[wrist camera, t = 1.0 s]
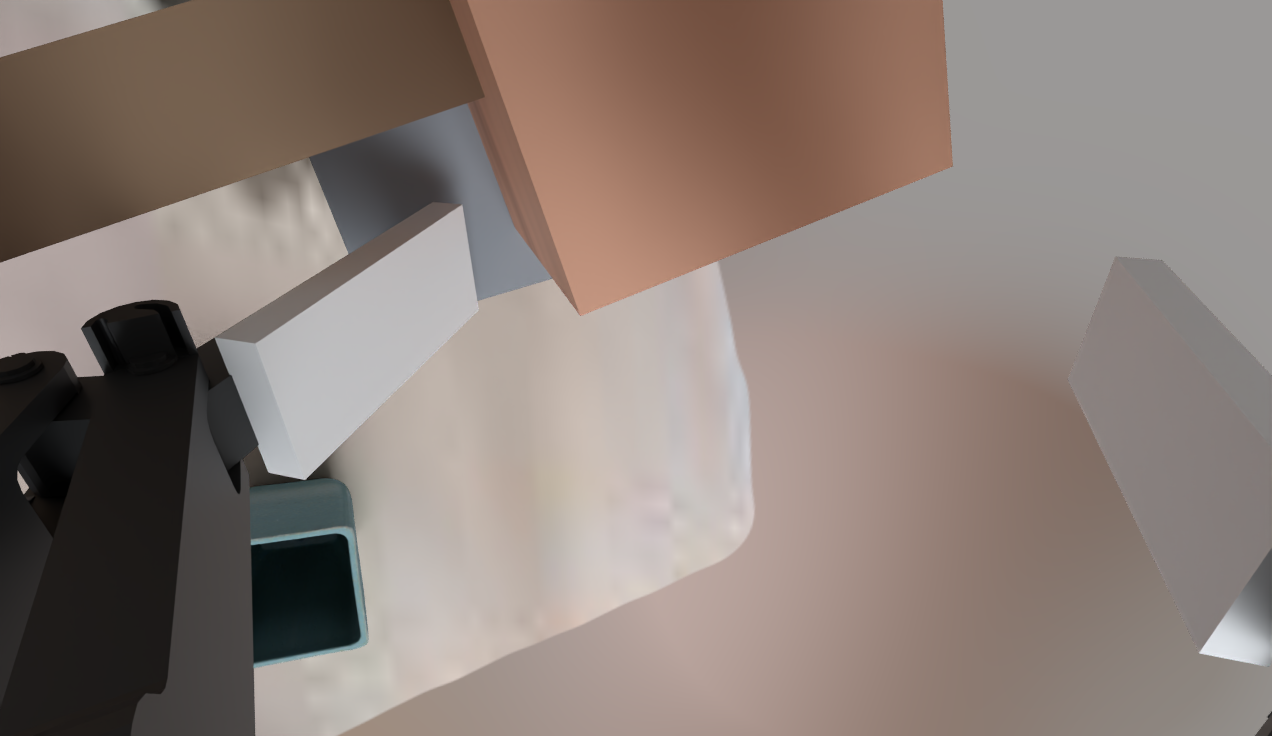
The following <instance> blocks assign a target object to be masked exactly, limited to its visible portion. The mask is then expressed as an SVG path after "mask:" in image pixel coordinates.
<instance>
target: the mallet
mask: <svg viewBox="0 0 1272 736" xmlns="http://www.w3.org/2000/svg"><path fill="white" fill-rule="evenodd" d="M946 66H947V65H946V49H945V34H944V17H943V1H942V0H192V1H189V2H185V3H182V4H179V5H175V6H172V7H168V8H165V9H162V10H158V11H155V12H152V13H148V14H145V15H142V16H138V17H135V18H132V19H128V20H125V21H121V22H118V23H115V24H111V25H108V26H105V27H101V28H98V29H95V30H91V31H88V32H84V33H81V34H78V35H74V36H71V37H68V38H64V39H61V40H58V41H54V42H51V43H48V44H44V45H41V46H37V47H34V48H31V49H27V50H24V51H21V52H17V53H14V54H11V55H7V56H4V57H1V58H0V262H3V261H6V260H9V259H12V258H15V257H18V256H21V255H24V254H27V253H29V252H32V251H35V250H38V249H41V248H44V247H47V246H50V245H53V244H56V243H59V242H62V241H65V240H68V239H70V238H73V237H76V236H79V235H82V234H85V233H88V232H91V231H94V230H97V229H100V228H103V227H106V226H109V225H112V224H114V223H117V222H120V221H123V220H126V219H129V218H132V217H135V216H138V215H141V214H144V213H147V212H150V211H153V210H156V209H158V208H161V207H164V206H167V205H170V204H173V203H176V202H179V201H182V200H185V199H188V198H191V197H194V196H197V195H199V194H202V193H205V192H208V191H211V190H214V189H217V188H220V187H223V186H226V185H229V184H232V183H235V182H238V181H241V180H243V179H246V178H249V177H252V176H255V175H258V174H261V173H264V172H267V171H270V170H273V169H276V168H279V167H282V166H285V165H287V164H290V163H293V162H296V161H299V160H302V159H305V158H308V157H311V156H314V155H317V154H320V153H323V152H326V151H328V150H331V149H334V148H337V147H340V146H343V145H346V144H349V143H352V142H355V141H358V140H361V139H364V138H367V137H370V136H372V135H375V134H378V133H381V132H384V131H387V130H390V129H393V128H396V127H399V126H402V125H405V124H408V123H411V122H414V121H416V120H419V119H422V118H425V117H428V116H431V115H434V114H437V113H440V112H443V111H446V110H449V109H452V108H455V107H457V106H460V105H463V104H466V103H467V104H468V107H469V109H470V112H471V114H472V117H473V120H474V122H475V125H476V128H477V130H478V133H479V135H480V138H481V141H482V143H483V146H484V148H485V151H486V154H487V156H488V159H489V161H490V164H491V167H492V169H493V172H494V174H495V177H496V180H497V182H498V185H499V188H500V190H501V193H502V195H503V198H504V201H505V203H506V206H507V208H508V211H509V214H510V216H511V219H512V221H513V224H514V227H515V229H516V230H517V231H518V233H519V234H520V235H521V237H522V238H523V239H524V241H525V242H526V243H527V245H528V246H529V247H530V249H531V250H532V251H533V253H534V254H535V255H536V257H537V258H538V259H539V261H540V262H541V264H542V265H543V266H544V268H545V269H546V270H547V272H548V273H549V274H550V276H551V277H552V278H553V280H554V281H555V282H556V284H557V285H558V286H559V288H560V289H561V290H562V292H563V293H564V294H565V296H566V297H567V299H568V300H569V301H570V303H571V304H572V305H573V307H574V308H575V309H576V311H577V312H578V313H579V315H580V316H581V315H584V314H586V313H589V312H591V311H594V310H596V309H599V308H601V307H604V306H606V305H609V304H611V303H614V302H616V301H619V300H621V299H624V298H626V297H629V296H631V295H634V294H636V293H639V292H641V291H644V290H646V289H649V288H651V287H654V286H656V285H659V284H661V283H664V282H666V281H669V280H671V279H674V278H676V277H679V276H681V275H683V274H686V273H688V272H691V271H693V270H696V269H698V268H701V267H703V266H706V265H708V264H711V263H713V262H716V261H718V260H721V259H723V258H726V257H728V256H731V255H733V254H736V253H738V252H741V251H743V250H746V249H748V248H751V247H753V246H756V245H758V244H761V243H763V242H766V241H768V240H771V239H773V238H776V237H778V236H781V235H783V234H786V233H788V232H790V231H793V230H796V229H798V228H801V227H803V226H806V225H808V224H810V223H813V222H815V221H818V220H820V219H823V218H825V217H828V216H830V215H833V214H835V213H838V212H840V211H843V210H845V209H848V208H850V207H853V206H855V205H858V204H860V203H863V202H865V201H867V200H870V199H873V198H875V197H877V196H880V195H883V194H885V193H888V192H890V191H893V190H895V189H898V188H900V187H902V186H905V185H908V184H910V183H913V182H915V181H918V180H920V179H923V178H925V177H927V176H930V175H932V174H935V173H937V172H940V171H942V170H945V169H947V168H950V167H952V166H953V162H952V146H951V130H950V114H949V98H948V82H947V67H946Z"/></svg>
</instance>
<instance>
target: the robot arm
mask: <svg viewBox="0 0 1272 736" xmlns="http://www.w3.org/2000/svg"><path fill="white" fill-rule="evenodd" d="M478 310H479V309H478V302H477V296H476V289H475V283H474V276H473V270H472V263H471V257H470V251H469V244H468V238H467V231H466V225H465V218H464V212H463V206H462V204H451V203H439V202H432V203H431V204H429V205H427V206H426V207H424V208H423V209H421V210H419V211H418V212H416V213H414V214H413V215H411V216H410V217H408V218H406V219H405V220H403V221H402V222H400V223H398V224H397V225H395V226H394V227H392V228H390V229H389V230H387V231H385V232H384V233H382V234H381V235H379V236H377V237H376V238H374V239H373V240H371V241H369V242H368V243H366V244H365V245H363V246H361V247H360V248H358V249H356V250H355V251H353V252H352V253H350V254H348V255H347V256H345V257H344V258H342V259H340V260H339V261H337V262H336V263H334V264H332V265H331V266H329V267H327V268H326V269H324V270H323V271H321V272H319V273H318V274H316V275H315V276H313V277H311V278H310V279H308V280H307V281H305V282H303V283H302V284H300V285H298V286H297V287H295V288H294V289H292V290H290V291H289V292H287V293H286V294H284V295H282V296H281V297H279V298H278V299H276V300H274V301H273V302H271V303H269V304H268V305H266V306H265V307H263V308H261V309H260V310H258V311H257V312H255V313H253V314H252V315H250V316H249V317H247V318H245V319H244V320H242V321H240V322H239V323H237V324H236V325H234V326H232V327H231V328H229V329H228V330H226V331H224V332H223V333H221V334H220V335H218V336H216V337H215V338H213V339H211V340H210V341H208V342H207V343H205V344H203V345H202V346H200V347H199V348H197V349H196V347H195V344H194V342H193V340H192V337H191V335H190V332H189V330H188V328H187V325H186V323H185V321H184V318H183V316H182V313H181V311H180V309H179V306H178V304H176V303H173V302H171V301H166V300H149V301H140V302H134V303H130V304H126V305H122V306H118V307H115V308H113V309H110V310H107V311H105V312H102V313H100V314H98V315H97V316H95V317H93V318H91V319H90V320H88V321H87V322H86V323H85V324H84V325H83V327H82V328H81V330H82V332H83V334H84V335H85V337H86V339H87V341H88V343H89V345H90V347H91V349H92V351H93V353H94V355H95V357H96V359H97V361H98V363H99V365H100V366H101V368H102V370H103V372H104V376H92V377H77V376H76V374H75V372H74V370H73V369H72V367H71V365H70V363H69V361H68V359H67V358H66V356H65V355H64V354H63V353H59V352H55V351H38V352H32V353H27V354H26V353H19V354H15V355H11V356H12V357H9V356H8V357H5V358H2V359H0V736H255V708H254V664H253V620H252V576H251V532H250V488H249V473H248V471H247V468H246V466H245V464H244V461H243V458H244V457H245V456H246V455H247V454H249V453H250V452H251V451H252V450H253V449H254V448H256V447H257V446H258V448H259V450H260V453H261V455H262V458H263V460H264V463H265V465H266V468H267V470H268V473H273V474H278V475H283V476H288V477H293V478H297V479H302V480H305V479H306V478H307V477H309V476H310V475H311V474H312V473H313V472H314V471H315V470H316V469H317V468H318V467H319V466H320V465H321V464H322V463H323V462H324V461H325V460H326V459H327V458H328V457H329V456H330V455H331V454H332V453H333V452H334V451H335V450H336V449H337V448H338V447H339V446H340V445H341V444H342V443H343V442H344V441H345V440H346V439H347V438H348V437H349V436H350V435H351V434H352V433H354V432H355V431H356V430H357V429H358V428H359V427H360V426H361V425H362V424H363V423H364V422H365V421H366V420H367V419H368V418H369V417H370V416H371V415H372V414H373V413H374V412H375V411H376V410H377V409H378V408H379V407H380V406H381V405H382V404H383V403H384V402H385V401H386V400H387V399H388V398H389V397H390V396H391V395H392V394H393V393H394V392H395V391H396V390H397V389H399V388H400V387H401V386H402V385H403V384H404V383H405V382H406V381H407V380H408V379H409V378H410V377H411V376H412V375H413V374H414V373H415V372H416V371H417V370H418V369H419V368H420V367H421V366H422V365H423V364H424V363H425V362H426V361H427V360H428V359H429V358H430V357H431V356H432V355H433V354H434V353H435V352H436V351H437V350H438V349H439V348H440V347H441V346H442V345H443V344H445V343H446V342H447V341H448V340H449V339H450V338H451V337H452V336H453V335H454V334H455V333H456V332H457V331H458V330H459V329H460V328H461V327H462V326H463V325H464V324H465V323H466V322H467V321H468V320H469V319H470V318H471V317H472V316H473V315H474V314H475V313H476V312H477V311H478ZM1068 381H1069V383H1070V386H1071V388H1072V390H1073V392H1074V394H1075V396H1076V398H1077V400H1078V402H1079V404H1080V406H1081V408H1082V411H1083V412H1084V415H1085V417H1086V419H1087V421H1088V423H1089V425H1090V427H1091V430H1092V431H1093V434H1094V436H1095V438H1096V440H1097V442H1098V444H1099V446H1100V448H1101V450H1102V452H1103V455H1104V457H1105V459H1106V461H1107V463H1108V465H1109V467H1110V469H1111V471H1112V473H1113V475H1114V477H1115V480H1116V482H1117V483H1118V486H1119V488H1120V490H1121V492H1122V494H1123V496H1124V498H1125V500H1126V502H1127V505H1128V507H1129V509H1130V511H1131V513H1132V515H1133V517H1134V519H1135V521H1136V523H1137V525H1138V527H1139V530H1140V531H1141V534H1142V536H1143V538H1144V540H1145V542H1146V544H1147V546H1148V548H1149V550H1150V552H1151V555H1152V557H1153V559H1154V561H1155V563H1156V565H1157V567H1158V569H1159V571H1160V573H1161V575H1162V577H1163V579H1164V582H1165V584H1166V586H1167V588H1168V590H1169V592H1170V594H1171V596H1172V598H1173V600H1174V602H1175V605H1176V607H1177V609H1178V611H1179V613H1180V615H1181V617H1182V619H1183V621H1184V623H1185V625H1186V627H1187V629H1188V632H1189V634H1190V636H1191V638H1192V640H1193V642H1194V644H1195V646H1196V648H1197V650H1198V652H1199V653H1201V654H1206V655H1211V656H1216V657H1221V658H1226V659H1231V660H1237V661H1242V662H1247V663H1252V664H1257V665H1262V666H1267V667H1269V666H1270V665H1271V663H1272V375H1271V374H1270V373H1269V372H1268V371H1267V370H1266V369H1265V368H1264V367H1263V366H1262V365H1261V364H1260V363H1259V362H1258V361H1257V360H1256V358H1255V357H1254V356H1253V355H1252V354H1251V353H1250V352H1249V351H1248V350H1247V349H1246V348H1245V347H1244V346H1243V345H1242V344H1241V343H1240V342H1239V341H1238V340H1237V339H1236V337H1235V336H1234V335H1233V334H1232V333H1231V332H1230V331H1229V330H1228V329H1227V328H1226V327H1225V326H1224V325H1223V324H1222V323H1221V322H1220V321H1219V320H1218V318H1216V316H1214V314H1213V313H1212V312H1211V311H1210V310H1209V309H1208V308H1207V307H1206V306H1205V305H1204V304H1203V303H1202V302H1201V301H1200V300H1199V298H1198V297H1197V296H1196V295H1195V294H1194V293H1193V292H1192V291H1191V290H1190V289H1189V288H1188V287H1187V286H1186V285H1185V284H1184V283H1183V282H1182V281H1181V280H1180V278H1179V277H1177V275H1176V274H1175V273H1174V272H1173V271H1172V270H1171V269H1170V268H1169V267H1168V266H1167V265H1166V264H1165V263H1164V262H1163V261H1162V260H1152V259H1140V258H1127V257H1115V259H1114V262H1113V264H1112V267H1111V269H1110V272H1109V275H1108V277H1107V280H1106V282H1105V285H1104V287H1103V290H1102V293H1101V295H1100V298H1099V301H1098V303H1097V305H1096V308H1095V311H1094V313H1093V316H1092V318H1091V321H1090V324H1089V326H1088V329H1087V331H1086V334H1085V337H1084V339H1083V341H1082V344H1081V347H1080V349H1079V352H1078V354H1077V357H1076V359H1075V362H1074V365H1073V367H1072V370H1071V372H1070V375H1069V377H1068ZM17 470H18V471H19V473H20V474H21V476H22V478H23V479H24V481H25V482H26V484H27V485H28V487H29V489H28V490H27V491H26V493H25V494H23V493H22V491H21V488H20V486H19V483H18V481H17ZM1255 736H1272V712H1271V713H1270V714H1269V715H1268V720H1267V721H1266V722H1265V724H1264V725H1263V726H1262V727H1261V729H1260V730H1259V731H1258V732H1257V734H1256V735H1255Z"/></svg>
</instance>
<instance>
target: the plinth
mask: <svg viewBox="0 0 1272 736" xmlns="http://www.w3.org/2000/svg"><path fill="white" fill-rule="evenodd" d="M309 158H310V161H311V163H312V166H313V168H314V170H315V173H316V175H317V178H318V180H319V183H320V185H321V187H322V190H323V192H324V195H325V197H326V200H327V202H328V205H329V207H330V209H331V212H332V214H333V217H334V219H335V222H336V224H337V227H338V229H339V231H340V234H341V236H342V239H343V241H344V244H345V246H346V248H347V251H348V253H349V254H350V253H352V252H353V251H355V250H356V249H358V248H360V247H361V246H363V245H365V244H366V243H368V242H369V241H371V240H373V239H374V238H376V237H377V236H379V235H381V234H382V233H384V232H385V231H387V230H389V229H390V228H392V227H394V226H395V225H397V224H398V223H400V222H402V221H403V220H405V219H406V218H408V217H410V216H411V215H413V214H414V213H416V212H418V211H419V210H421V209H423V208H424V207H426V206H427V205H429V204H431V203H432V202H439V203H451V204H462V206H463V212H464V218H465V225H466V231H467V238H468V244H469V251H470V257H471V263H472V270H473V276H474V283H475V289H476V296H477V301H479V300H482V299H485V298H489V297H492V296H495V295H499V294H502V293H506V292H509V291H512V290H516V289H519V288H522V287H526V286H529V285H532V284H536V283H539V282H543V281H546V280H549V279H553V278H552V277H551V276H550V274H549V273H548V272H547V270H546V269H545V268H544V266H543V265H542V264H541V262H540V261H539V259H538V258H537V257H536V255H535V254H534V253H533V251H532V250H531V249H530V247H529V246H528V245H527V243H526V242H525V241H524V239H523V238H522V237H521V235H520V234H519V233H518V231H517V230H516V229H515V227H514V224H513V221H512V219H511V216H510V214H509V211H508V208H507V206H506V203H505V201H504V198H503V195H502V193H501V190H500V188H499V185H498V182H497V180H496V177H495V174H494V172H493V169H492V167H491V164H490V161H489V159H488V156H487V154H486V151H485V148H484V146H483V143H482V141H481V138H480V135H479V133H478V130H477V128H476V125H475V122H474V120H473V117H472V114H471V112H470V109H469V107H468V104H467V103H466V104H463V105H460V106H457V107H455V108H452V109H449V110H446V111H443V112H440V113H437V114H434V115H431V116H428V117H425V118H422V119H419V120H416V121H414V122H411V123H408V124H405V125H402V126H399V127H396V128H393V129H390V130H387V131H384V132H381V133H378V134H375V135H372V136H370V137H367V138H364V139H361V140H358V141H355V142H352V143H349V144H346V145H343V146H340V147H337V148H334V149H331V150H328V151H326V152H323V153H320V154H317V155H314V156H311V157H309Z"/></svg>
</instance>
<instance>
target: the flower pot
mask: <svg viewBox="0 0 1272 736" xmlns="http://www.w3.org/2000/svg"><path fill="white" fill-rule="evenodd" d="M250 532H251V576H252V620H253V664H254V668H257V667H262V666H267V665H273V664H277V663H282V662H288V661H293V660H298V659H303V658H308V657H314V656H318V655H324V654H329V653H335V652H340V651H347V650H353V649H357V648H360V647H362V646H364V645H366V644H367V643H368V639H369V638H368V626H367V617H366V608H365V598H364V589H363V582H362V575H361V567H360V560H359V553H358V545H357V538H356V530H355V522H354V515H353V506H352V499H351V495H350V492H349V490H348V488H347V487H346V486H345V484H343V483H342V482H340V481H338V480H335V479H329V478H322V479H314V480H306V481H298V482H290V483H282V484H273V485H263V486H255V487H250Z"/></svg>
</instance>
